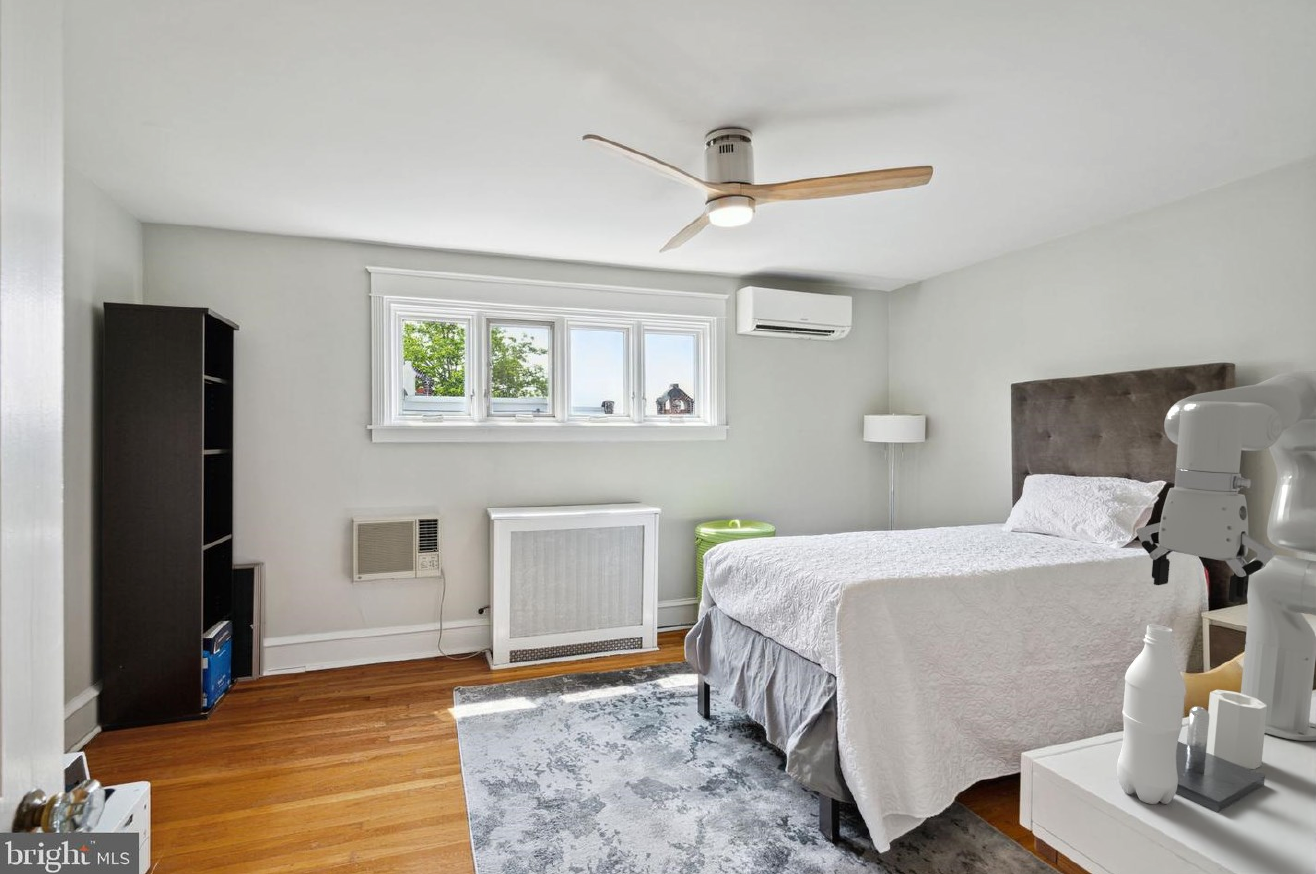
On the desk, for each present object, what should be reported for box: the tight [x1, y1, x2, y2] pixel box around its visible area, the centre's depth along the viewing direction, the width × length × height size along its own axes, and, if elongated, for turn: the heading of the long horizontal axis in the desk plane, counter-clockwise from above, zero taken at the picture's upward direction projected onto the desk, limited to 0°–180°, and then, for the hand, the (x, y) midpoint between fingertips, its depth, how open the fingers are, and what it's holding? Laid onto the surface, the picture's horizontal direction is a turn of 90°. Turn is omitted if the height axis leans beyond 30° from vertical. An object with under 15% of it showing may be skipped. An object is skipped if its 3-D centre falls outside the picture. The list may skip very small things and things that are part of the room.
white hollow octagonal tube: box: [1206, 689, 1267, 770], centre depth 110 cm, size 7×7×10 cm
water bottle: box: [1116, 623, 1187, 805], centre depth 97 cm, size 7×7×25 cm
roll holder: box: [1175, 706, 1266, 813], centre depth 103 cm, size 16×12×11 cm
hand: (1196, 592), depth 103 cm, fingers open, 9 cm apart
